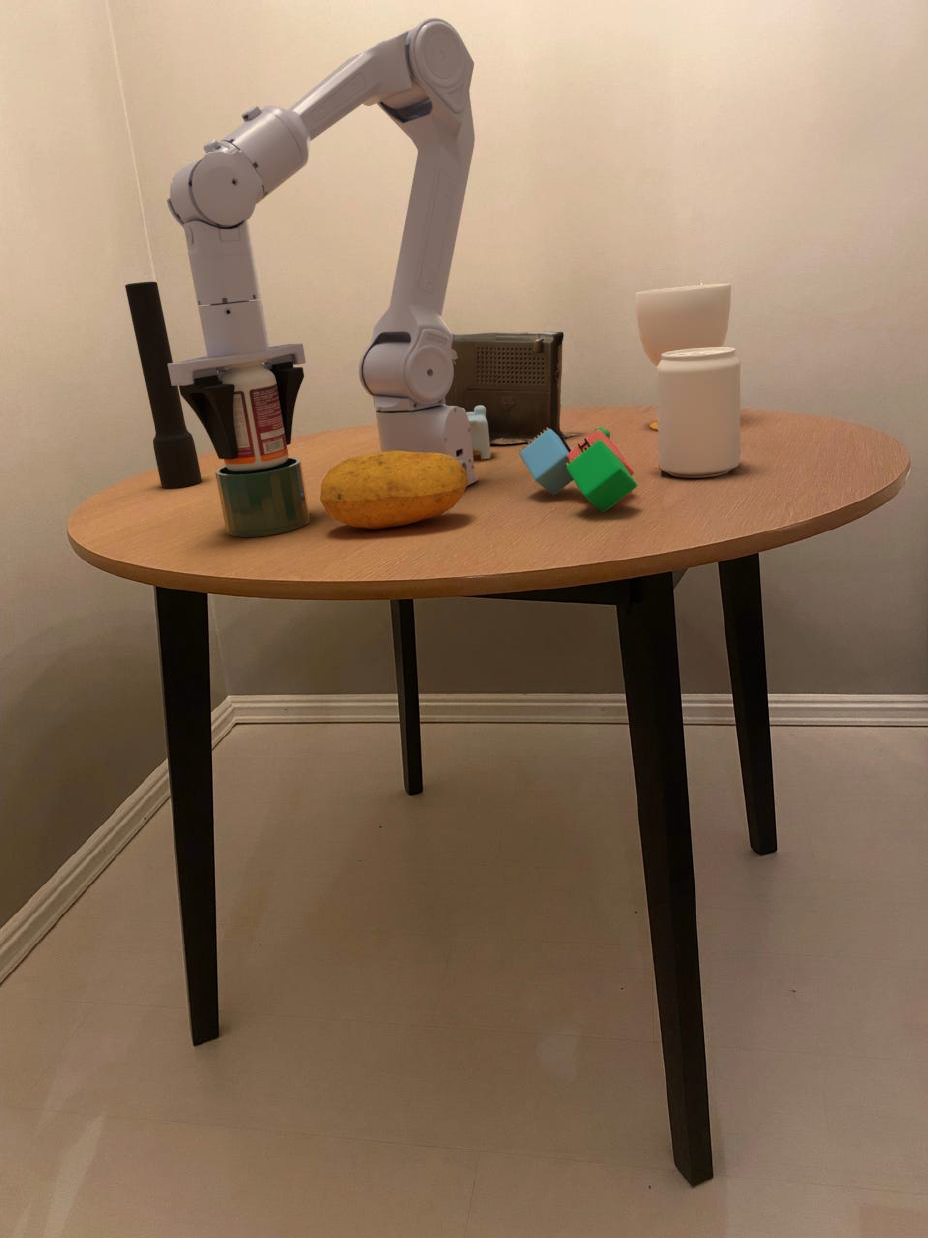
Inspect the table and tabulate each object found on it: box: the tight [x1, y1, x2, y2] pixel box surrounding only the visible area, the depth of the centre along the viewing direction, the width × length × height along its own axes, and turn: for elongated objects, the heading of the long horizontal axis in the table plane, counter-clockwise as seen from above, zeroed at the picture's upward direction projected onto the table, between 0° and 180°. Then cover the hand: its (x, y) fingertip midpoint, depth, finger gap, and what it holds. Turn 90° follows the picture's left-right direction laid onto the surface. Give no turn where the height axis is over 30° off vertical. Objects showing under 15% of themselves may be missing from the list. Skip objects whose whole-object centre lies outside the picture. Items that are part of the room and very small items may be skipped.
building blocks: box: [518, 426, 638, 513], centre depth 89 cm, size 8×8×12 cm
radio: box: [445, 330, 579, 445], centre depth 124 cm, size 23×9×15 cm, turn 60°
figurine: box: [462, 406, 491, 460], centre depth 116 cm, size 4×8×6 cm, turn 4°
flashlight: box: [124, 281, 203, 489], centre depth 115 cm, size 5×24×5 cm
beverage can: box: [656, 346, 741, 479], centre depth 95 cm, size 8×8×12 cm
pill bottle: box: [217, 360, 289, 471], centre depth 89 cm, size 6×6×11 cm
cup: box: [634, 283, 732, 431], centre depth 121 cm, size 12×12×17 cm
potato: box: [319, 450, 468, 530], centre depth 87 cm, size 8×14×7 cm, turn 89°
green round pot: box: [214, 456, 311, 538], centre depth 92 cm, size 8×8×6 cm
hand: (255, 451), depth 90 cm, fingers closed on pill bottle, 6 cm apart
